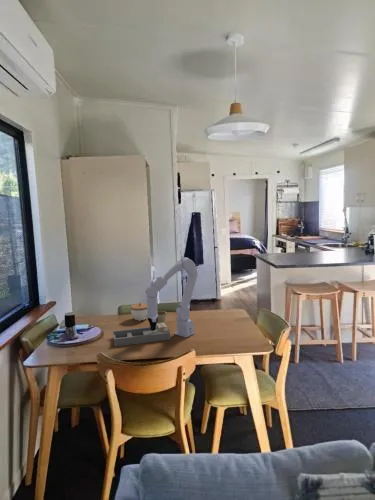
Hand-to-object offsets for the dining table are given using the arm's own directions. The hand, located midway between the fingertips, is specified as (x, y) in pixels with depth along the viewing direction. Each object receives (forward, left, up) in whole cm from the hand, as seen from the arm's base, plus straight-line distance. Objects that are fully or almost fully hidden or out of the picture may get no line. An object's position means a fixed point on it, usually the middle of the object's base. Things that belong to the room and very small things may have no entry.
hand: (153, 330), depth 199 cm
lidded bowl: (+31, -17, -4) cm, 36 cm away
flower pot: (+10, -14, -4) cm, 18 cm away
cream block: (-3, -4, -2) cm, 5 cm away
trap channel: (+4, +5, -4) cm, 8 cm away
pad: (-2, -3, -4) cm, 6 cm away
